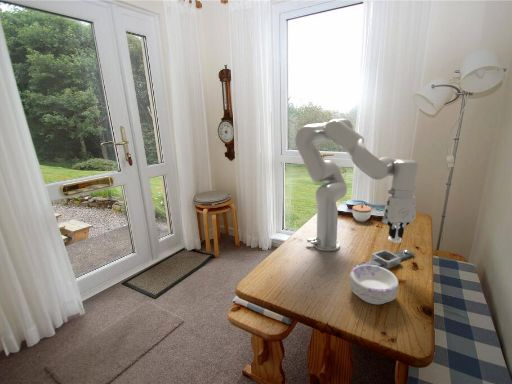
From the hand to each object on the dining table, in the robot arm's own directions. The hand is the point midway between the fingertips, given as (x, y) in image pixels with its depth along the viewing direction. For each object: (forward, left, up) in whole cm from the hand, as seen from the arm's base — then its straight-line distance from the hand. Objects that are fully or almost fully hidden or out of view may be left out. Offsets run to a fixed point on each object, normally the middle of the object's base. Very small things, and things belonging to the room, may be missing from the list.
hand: (395, 236), depth 102 cm
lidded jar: (+11, +52, -15) cm, 55 cm away
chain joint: (0, +5, -14) cm, 15 cm away
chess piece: (0, 0, -2) cm, 2 cm away
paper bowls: (-16, -15, -15) cm, 27 cm away
